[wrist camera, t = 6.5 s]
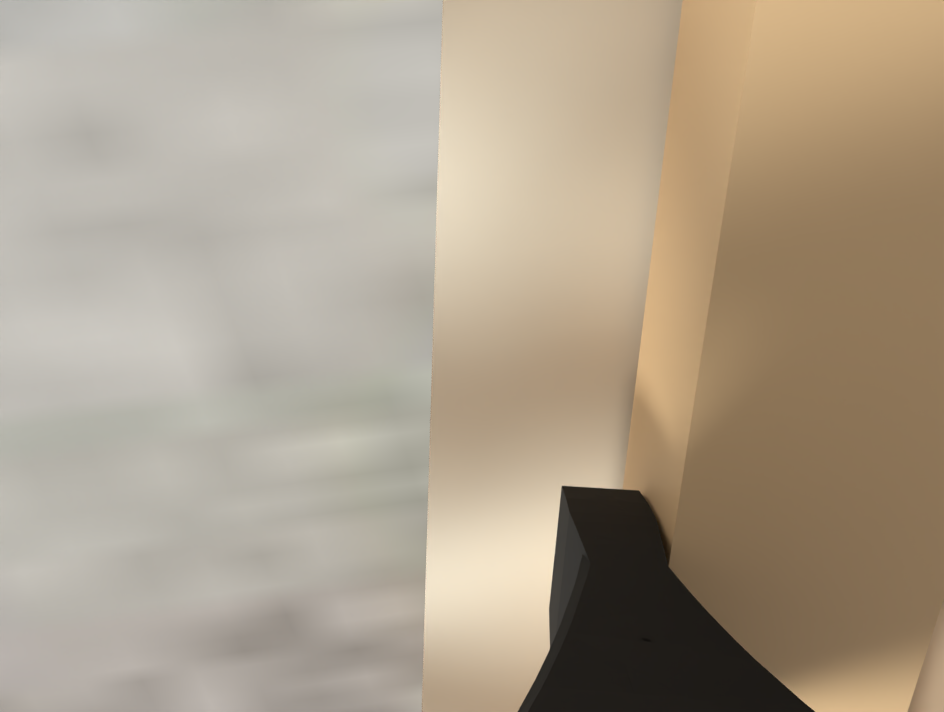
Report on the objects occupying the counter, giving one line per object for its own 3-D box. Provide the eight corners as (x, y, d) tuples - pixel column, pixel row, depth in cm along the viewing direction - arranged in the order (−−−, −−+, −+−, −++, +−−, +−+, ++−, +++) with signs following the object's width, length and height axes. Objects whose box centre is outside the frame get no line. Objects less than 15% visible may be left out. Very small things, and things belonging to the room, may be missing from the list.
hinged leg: (746, 836, 14) (815, 1065, 11) (581, 825, 14) (602, 1049, 11) (971, -113, 8) (1247, -214, 5) (697, -121, 9) (806, -224, 5)
